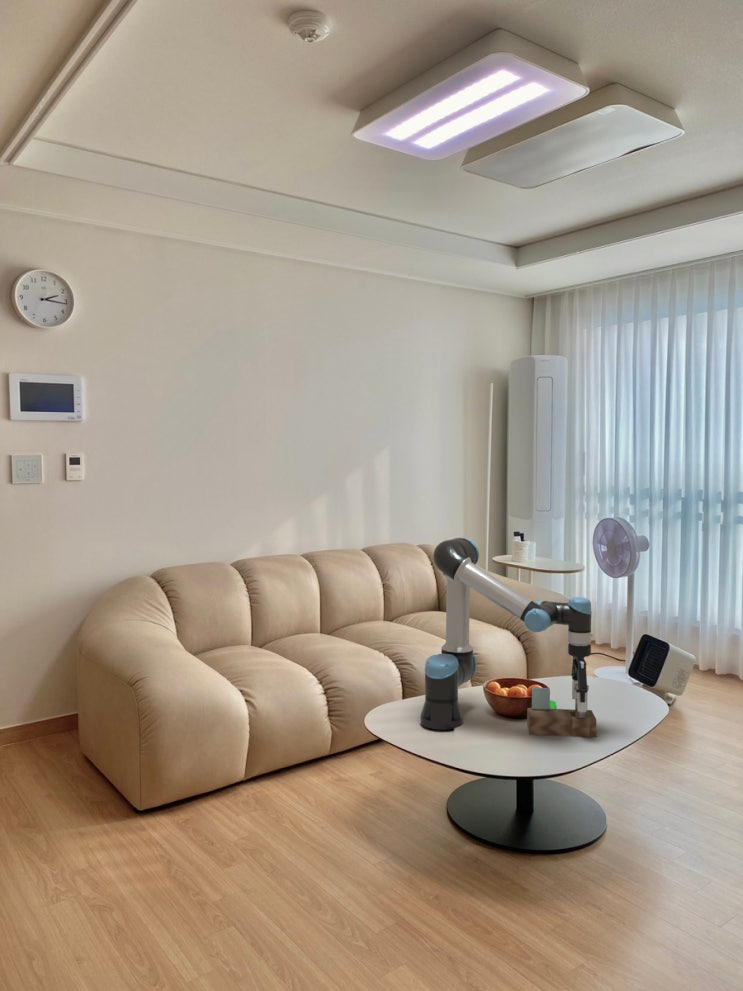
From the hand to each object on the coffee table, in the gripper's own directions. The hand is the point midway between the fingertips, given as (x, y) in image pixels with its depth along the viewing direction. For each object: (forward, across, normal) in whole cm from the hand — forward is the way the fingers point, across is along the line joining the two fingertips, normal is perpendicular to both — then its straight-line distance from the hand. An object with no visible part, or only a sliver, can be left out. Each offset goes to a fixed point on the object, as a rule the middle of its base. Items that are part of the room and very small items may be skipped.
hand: (578, 705), depth 270 cm
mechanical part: (+10, +24, +8) cm, 27 cm away
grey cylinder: (+2, -4, 0) cm, 5 cm away
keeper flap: (+3, +3, +12) cm, 13 cm away
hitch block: (+9, 0, +6) cm, 11 cm away
